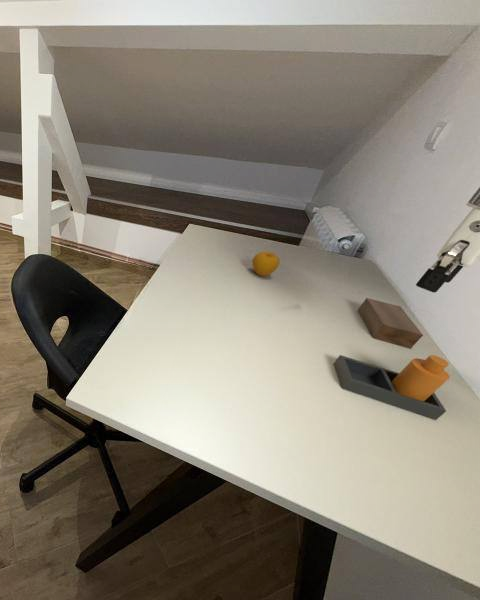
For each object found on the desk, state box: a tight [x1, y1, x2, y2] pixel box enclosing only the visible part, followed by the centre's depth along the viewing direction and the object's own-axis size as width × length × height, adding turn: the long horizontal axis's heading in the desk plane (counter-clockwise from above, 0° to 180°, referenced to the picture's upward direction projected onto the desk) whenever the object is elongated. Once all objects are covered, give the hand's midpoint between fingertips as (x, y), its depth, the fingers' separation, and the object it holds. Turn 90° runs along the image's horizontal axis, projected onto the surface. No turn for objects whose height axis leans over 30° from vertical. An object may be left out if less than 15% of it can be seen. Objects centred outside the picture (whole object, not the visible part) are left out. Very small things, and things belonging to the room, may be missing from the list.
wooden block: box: [357, 297, 424, 349], centre depth 93 cm, size 9×16×5 cm, turn 156°
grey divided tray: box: [333, 354, 447, 421], centre depth 71 cm, size 9×17×4 cm, turn 66°
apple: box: [251, 251, 280, 278], centre depth 115 cm, size 9×8×9 cm
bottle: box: [391, 354, 451, 401], centre depth 67 cm, size 6×6×12 cm
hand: (432, 284), depth 65 cm, fingers open, 9 cm apart
